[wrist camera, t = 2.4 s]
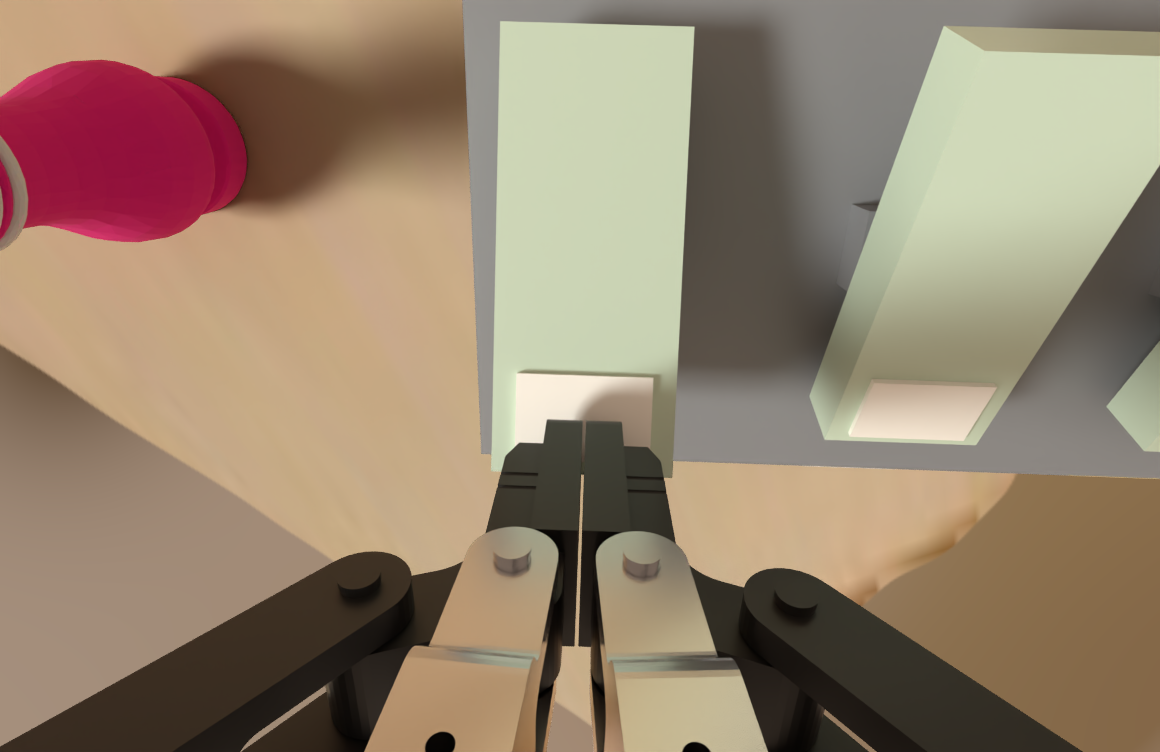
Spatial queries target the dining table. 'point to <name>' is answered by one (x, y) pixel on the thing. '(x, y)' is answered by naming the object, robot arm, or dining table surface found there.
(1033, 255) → the block
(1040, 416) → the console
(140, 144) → the pepper mill
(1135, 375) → the rocker
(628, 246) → the block
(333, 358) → the dining table surface
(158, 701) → the robot arm
